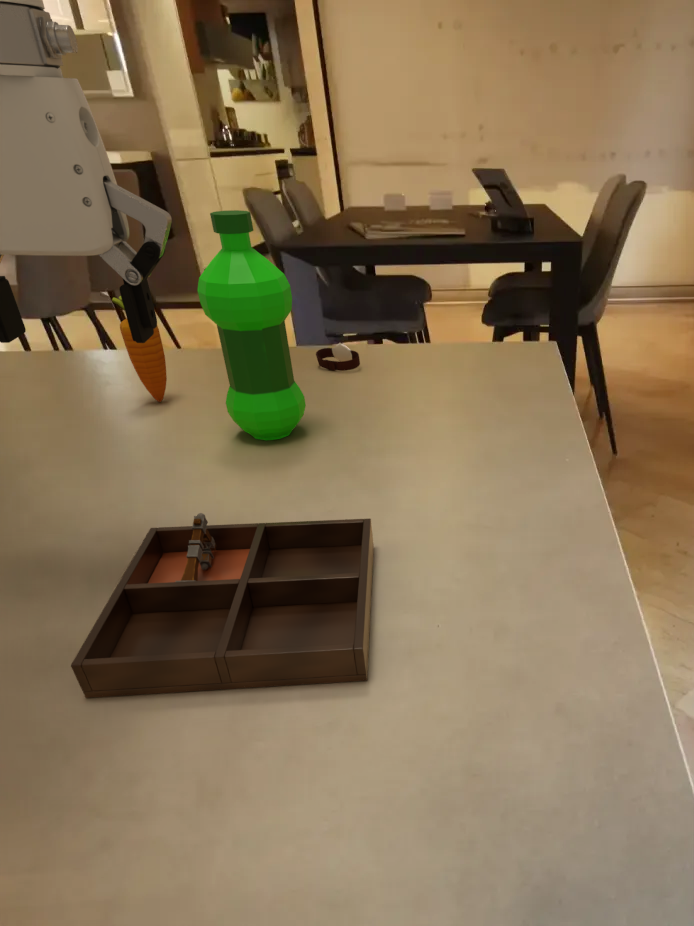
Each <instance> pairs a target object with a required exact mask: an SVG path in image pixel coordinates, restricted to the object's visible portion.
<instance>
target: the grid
mask: <svg viewBox="0 0 694 926" xmlns="http://www.w3.org/2000/svg"><path fill="white" fill-rule="evenodd" d="M192 526H193V525H186V526H185V525H184V526H182V525H181V526H161V527H150V528H149V530H148V532H147V533H146V535H145V537H144V538H143V540H142V542H141V544H140V546H139V547H138V548H137V550H136V552H135V554H134V556H133V558H132V559H131V561H130V562H129V564H128V566H127V568H126V569H125V571H124V572H123V575H122V576H121V578H120V580H119V581H118V583H117V585H116V586H115V588H114V590H113V592H112V593H111V595H110V597H109V599H108V600H107V602H106V604H105V606H104V607H103V609H102V611H101V612H100V614H99V616H98V618H97V620H96V621H95V622H94V624H93V626H92V628H91V629H90V631H89V633H88V635H87V636H86V638H85V639H84V642H83V643H82V645H81V647H80V649H79V650H78V651H77V653H76V655H75V657H74V659H73V660H72V662H71V664H70V667H71V670H72V671H73V674H74V676H75V678H76V680H77V682H78V685H79V688H80V689H81V691H82V693H83V695H84V697H85V698H88V699H91V698H105V697H107V698H108V697H120V696H139V695H153V694H167V693H170V694H171V693H185V692H203V691H218V690H234V689H235V690H236V689H249V688H250V689H251V688H252V689H253V688H264V687H265V688H267V687H268V688H269V687H282V686H299V685H313V684H332V683H349V682H362V681H363V682H365V681H368V674H369V673H368V671H369V654H370V653H369V652H370V651H369V650H370V634H371V633H370V629H371V613H372V612H371V611H372V609H371V608H372V589H373V571H374V570H373V568H374V550H375V546H374V545H375V543H374V536H373V534H374V533H373V526H372V518H352V519H351V518H350V519H348V518H347V519H327V520H304V521H303V520H302V521H301V520H300V521H284V522H283V521H279V522H278V521H277V522H276V521H275V522H256V523H255V522H251V523H232V524H231V523H230V524H209V525H208V524H207V527H206V529H207V530H208V532H209V534H210V536H211V537H213V539H214V541H215V542H214V543H215V544H216V550H211V551H212V552H211V553H212V555H213V556H214V559H211V566H212V567H208V569H207V570H203V569H201V566H200V564H199V566H198V581H187V582H175V581H181V579H182V576H183V574H184V571H185V568H186V565H187V560H188V559H187V557H186V556H187V553H188V545H189V540H191V539H192V535H193V529H192ZM202 544H203V546H204V547H203V548H206V546H205V544H204V540H203V542H202ZM202 551H204V549H202Z"/></svg>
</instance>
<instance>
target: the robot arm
mask: <svg viewBox="0 0 694 926" xmlns="http://www.w3.org/2000/svg"><path fill="white" fill-rule="evenodd" d="M45 9H46V7H45V4H44V0H0V264H1V263H2V261H3V258H4V256H56V257H58V256H60V257H64V256H65V257H69V256H71V257H81V256H82V257H85V256H86V257H88V256H89V257H90V256H99V257H100V258H101V259H102V260H103V261H104V262H105V263H106V264H107V265H108V266H109V267H111V268H112V269H113V270H114V272H116V273H117V274H118V276H120V277H121V278H122V282H123V284H121V285H120V286H119V295H120V296H121V298H122V302H123V305H124V309H125V311H124V313H125V316H126V319H127V320H128V324H129V328H130V331H131V335H132V339H133V341H136V343H145V342H146V341H147V340H148V339H149V338H150V337H151V336H152V335H153V334H154V329H155V328H156V327H157V326H158V318H157V314H156V310H155V305H154V302H153V297H152V293H151V289H150V286H149V281H148V278H150V277H151V276H152V272H153V271H154V269H155V268H156V267H157V265H158V264H159V262H160V261H161V260H162V258H163V257H164V255H165V253H166V245H167V243H168V240H169V239H168V238H169V235H170V231H171V226H172V220H173V219H172V216H171V214H170V213H169V211H166V210H165V209H163V208H161V207H159V206H157V205H155V204H154V203H151V202H150V201H148V200H146V199H144V198H143V197H140V196H139V195H137V194H135V193H133V192H131V191H129V190H127V189H126V188H123V187H122V186H120V185H118V182H117V180H116V177H115V173H114V170H113V167H112V164H111V161H110V159H109V155H108V153H107V149H106V146H105V143H104V141H103V138H102V135H101V133H100V130H99V127H98V125H97V122H96V119H95V116H94V114H93V112H92V109H91V106H90V104H89V102H88V99H87V97H86V95H85V93H84V90H83V88H82V86H81V84H80V81H79V79H78V78H73V77H64V75H63V71H62V68H61V67H63V66H64V62H63V56H66V55H67V54H77V53H78V51H79V46H78V40H77V36H76V34H75V31H74V29H73V28H72V26H71V25H69V24H59V23H58V22H57V21H53V19H52V18H51V17H52V16H51V14H50V12H48V11H45ZM128 217H130V218H132V219H134V220H136V221H138V222H140V223H141V224H142V225H143V226H144V229H145V233H144V240H143V244H142V245H140V246H141V247H140V248H139V249H138V251H136V250H135V249H134V248H133V247H132V246H131V245H130V244H129V243H128V242H127V241H128V240H129V238H130V225H129V221H128ZM26 331H27V329H26V326H25V323H24V321H23V317H22V315H21V312H20V309H19V307H18V303H17V301H16V298H15V295H14V292H13V289H12V286H11V284H10V281H9V280H8V278H6V276H5V275H0V343H2V344H9V343H11V342H13V341H14V340H16V339H17V338H19V337H21V336H23V335H24V334H25V333H26Z"/></svg>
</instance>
